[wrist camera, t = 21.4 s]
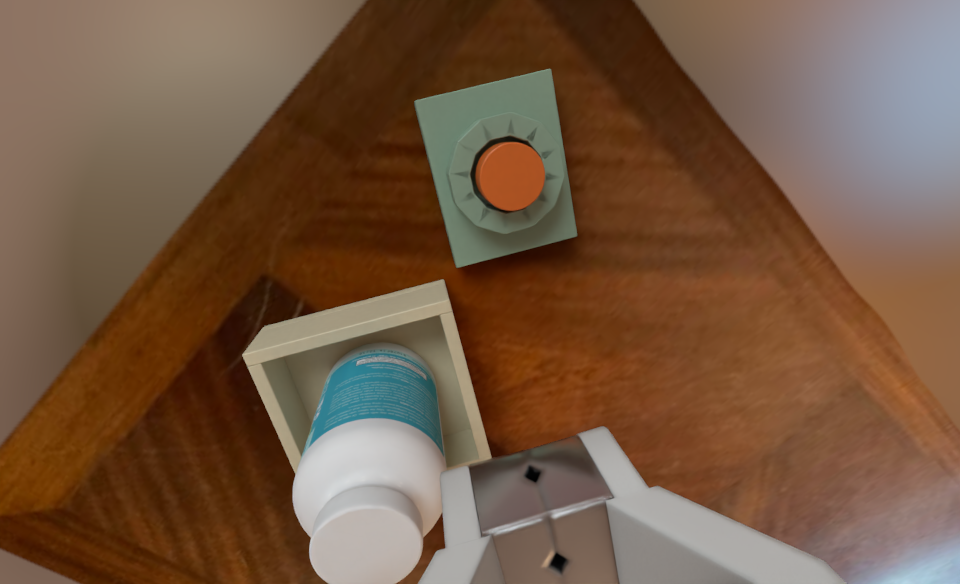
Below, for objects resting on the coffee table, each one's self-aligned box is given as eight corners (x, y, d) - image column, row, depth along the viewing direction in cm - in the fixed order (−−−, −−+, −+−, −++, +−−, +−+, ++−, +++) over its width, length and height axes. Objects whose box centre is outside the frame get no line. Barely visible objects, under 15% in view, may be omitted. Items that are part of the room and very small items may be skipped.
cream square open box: (263, 326, 31) (241, 354, 27) (443, 278, 31) (449, 299, 27) (324, 473, 35) (314, 517, 31) (483, 427, 35) (493, 464, 31)
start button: (468, 150, 26) (472, 151, 24) (530, 135, 26) (539, 134, 25) (482, 213, 27) (487, 218, 26) (542, 198, 28) (550, 202, 26)
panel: (413, 102, 28) (414, 98, 24) (543, 72, 28) (561, 63, 25) (454, 261, 31) (459, 276, 28) (569, 231, 32) (588, 242, 28)
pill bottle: (309, 356, 31) (241, 509, 18) (418, 324, 31) (426, 451, 19) (348, 447, 33) (312, 638, 21) (448, 416, 34) (474, 584, 21)
